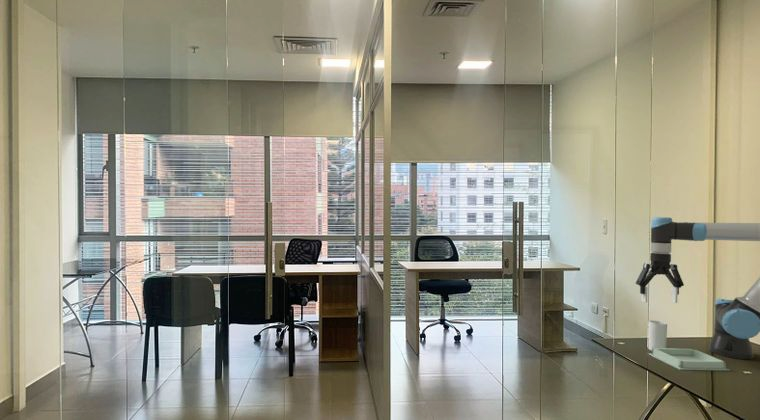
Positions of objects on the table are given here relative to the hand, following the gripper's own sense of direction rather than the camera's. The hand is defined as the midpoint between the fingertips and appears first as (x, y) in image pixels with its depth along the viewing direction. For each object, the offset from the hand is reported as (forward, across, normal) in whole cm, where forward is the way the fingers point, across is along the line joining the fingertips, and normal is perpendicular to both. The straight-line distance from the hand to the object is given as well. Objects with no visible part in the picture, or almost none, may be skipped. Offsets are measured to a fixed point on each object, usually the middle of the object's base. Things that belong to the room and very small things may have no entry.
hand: (659, 302), depth 192 cm
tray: (+21, -1, +16) cm, 26 cm away
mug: (+21, 0, 0) cm, 21 cm away
